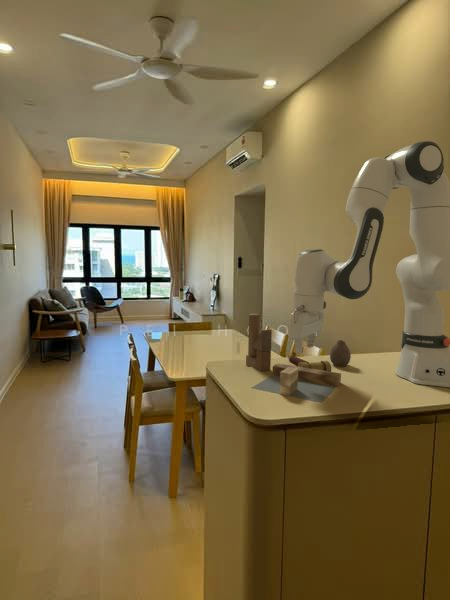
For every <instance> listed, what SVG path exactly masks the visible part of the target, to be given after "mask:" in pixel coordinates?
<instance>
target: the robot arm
mask: <svg viewBox="0 0 450 600" xmlns="http://www.w3.org/2000/svg"><path fill="white" fill-rule="evenodd" d="M444 162H445V161H444V154H443V151H442V149H441V148H440V146H439V145H438V144H437V143H436V142H434V141H429V140H427V141H426V140H423V141H418V142H416V143H414V144H409V145H407V146H404V147H402V148H400V149H398V150H397V151H395V152H392V154H391V153H390V154H388V155H387V156H385V157H378V156H377V157H372V158H370V159H368V160H367V161H365V162H364V164H363V165H362V167H361V169H360V170H359V171H358V174H357V176H356V177H355V179H354V181H353V184H352V186H351V189H350V191H349V193H348V196H347V200H346V204H345V214H346V215H347V217H348V219H349V220H350V221H351V223H353V224H355V226H356V231H357V232H356V237H355V240H354V243H353V247H352V250H351V253H350V257H349V259H347V260H346V261H345V262H344V261H340V260H338V259H335V258H334V257H333V256H330V255H329V254H328V253H326V251H325V250H324V249H320V248H317V249H307V250H303V251H301V252H300V253H299V254H298V256H297V257H296V261H295V269H294V278H293V279H294V289H293V294H292V310H294V311H293V312H292V313H291V314H290V317H289V323H288V332H287V335H288V339H289V340H293V342H294V345H295V353H296V354H302V353H304V346H303V342H304V339H307V341H306V347H307V348H310V349H312V348H314V345H315V340H316V336H317V333H319V332H321V331H322V329H323V324H324V317H325V309H327V302H326V301H325V299H324V297H325V293H329V294H334V295H338V296H341V297H343V298H345V299H348V300H357V299H360V298H362V297H364V296H365V295H366V294H367V293H368V292H369V290H370V289H371V287H372V284H373V270H374V269H373V267H374V263H375V257H376V254H377V251H378V249H379V248H378V247H379V244H380V240H381V236H382V233H383V229H384V222H385V221H384V219H385V218H384V213H385V210H386V206H387V204H388V201H389V199H390V195H391V192H392V190H394V189H395V190H396V189H400V188H404V187H405V188H406V187H407V188H408V190H409V191H410V206H409V207H410V209H409V213H410V214H409V236H410V238H411V239H412V241H413V243H414V245H415V250H416V253H417V254H416V253H414V254H411V255H408V256H406V257H404V258H402V259H401V260H400V261H399V262H398V264H397V265H396V268H395V274H396V277H397V279H398V281H399V283H400V286H401V289H402V295H403V301H404V308H405V309H404V323H403V324H404V325H403V330H402V333H401V338H400V340H401V341H400V347H401V352H400V357H399V361H398V365H397V367H396V370H395V371H394V372H395V374H396V375H397V376H398V377H400V378H403V379H406V380H408V381H409V382H411V383H414V384H416V385H417V384H418V385H425V386H426V385H427V386H433V387H434V386H435V387H436V386H437V387H442V388H444V387H445V388H450V338H449V336H448V335H447V336H446V335H445V334H443V332H444V320H445V309H444V306H443V305H442V303H441V302H440V299H439V295H438V292H443V291H449V290H450V180H449V176H448V175H447V174H446V173H444V169H445V168H444V167H445V164H444Z"/></svg>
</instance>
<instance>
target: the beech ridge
mask: <svg viewBox="0 0 450 600" xmlns="http://www.w3.org/2000/svg"><path fill="white" fill-rule="evenodd" d="M297 389H298V368H292V367H288V368H286V369H285V370H283V371H281V372H280V394H279V395H282V394H283V396H287V397H291V396H290V395H291V394H292V393H294V392H295V391H296V390H297Z"/></svg>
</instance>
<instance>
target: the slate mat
mask: <svg viewBox="0 0 450 600" xmlns="http://www.w3.org/2000/svg"><path fill="white" fill-rule="evenodd" d="M336 388H337V387H336V386H330V385H325V384H319V383H313V382H308V381H302V380H298V389H297V390H296V391H295V392H294V393H292V394H291V395H290V396H289V397H291V398H292V397H293V398H296V399H302V400H307V401H311V402H315V403H320V404H321V403H322V402H324V401H325V399H327V398H328V396H329V395H331V393H333V392H334V390H336ZM251 389H255V390H259V391H263V392H267V393H268V392H269V393H273V394H278V395H283V394H280V377H279V376H273V375H272V374H271V375H270V376H268V377H267V378H264V379H263V380H262V381H260V382H258V383H257V384H255V385H253V386H252V387H251ZM283 396H284V395H283Z"/></svg>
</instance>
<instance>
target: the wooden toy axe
mask: <svg viewBox="0 0 450 600" xmlns="http://www.w3.org/2000/svg"><path fill="white" fill-rule="evenodd" d="M260 316H261V315H260V314H259V313H249V314H248V344H247V345H248V346H247V349H248V350H247V354H246V356H245V365H246V366H247V367H252V368H254V369H257V370H258V371H259V372H268V371H271V367H272V366H271V362H272V334H273V333H272V332H273V330H272V329H263V330H261V331H260V322H261V321H260V320H261V319H260V318H261V317H260Z"/></svg>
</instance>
